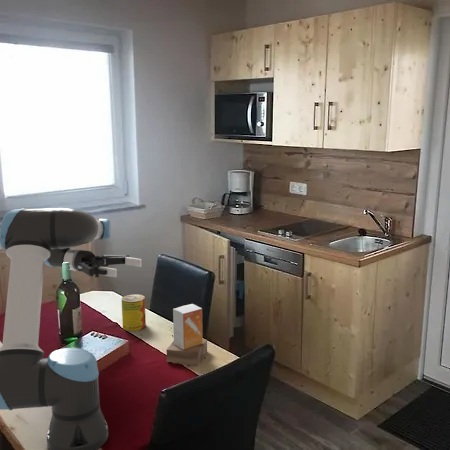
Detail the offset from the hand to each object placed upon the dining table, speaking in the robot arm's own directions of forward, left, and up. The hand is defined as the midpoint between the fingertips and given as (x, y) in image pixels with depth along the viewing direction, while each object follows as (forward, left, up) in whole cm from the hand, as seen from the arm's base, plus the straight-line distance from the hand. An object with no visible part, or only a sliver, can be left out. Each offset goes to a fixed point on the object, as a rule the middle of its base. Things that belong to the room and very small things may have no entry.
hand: (129, 267), depth 174 cm
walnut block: (+7, -18, -32) cm, 37 cm away
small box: (+8, -18, -27) cm, 34 cm away
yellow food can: (+21, +15, -32) cm, 41 cm away
